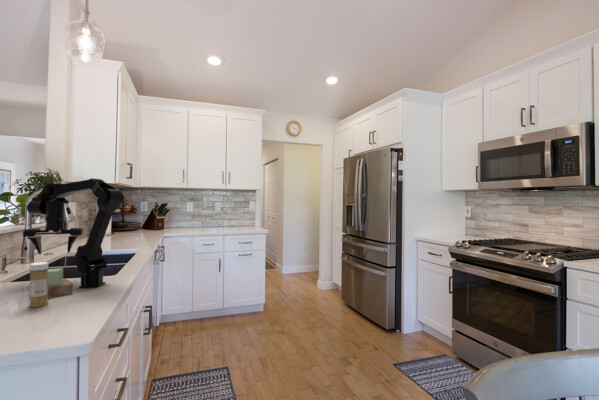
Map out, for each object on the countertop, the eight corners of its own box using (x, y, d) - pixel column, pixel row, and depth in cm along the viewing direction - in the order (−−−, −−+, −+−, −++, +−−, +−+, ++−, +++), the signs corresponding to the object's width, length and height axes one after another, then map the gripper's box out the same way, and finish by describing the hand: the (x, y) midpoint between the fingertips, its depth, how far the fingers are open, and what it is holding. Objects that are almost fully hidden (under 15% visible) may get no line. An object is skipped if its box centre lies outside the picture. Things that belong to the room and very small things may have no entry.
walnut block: (65, 289, 117) (65, 279, 117) (72, 295, 110) (72, 284, 110) (30, 295, 109) (31, 284, 109) (36, 301, 103) (36, 289, 103)
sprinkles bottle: (49, 302, 101) (50, 261, 101) (45, 306, 97) (46, 263, 97) (31, 304, 99) (32, 262, 99) (26, 308, 95) (27, 265, 95)
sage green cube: (62, 281, 113) (63, 268, 113) (57, 285, 108) (58, 271, 108) (46, 283, 111) (46, 269, 111) (40, 286, 106) (40, 272, 106)
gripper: (87, 213, 135) (86, 249, 135) (33, 214, 127) (32, 251, 127) (81, 214, 125) (80, 253, 124) (22, 215, 117) (21, 256, 117)
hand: (54, 253), depth 123 cm, fingers open, 9 cm apart
